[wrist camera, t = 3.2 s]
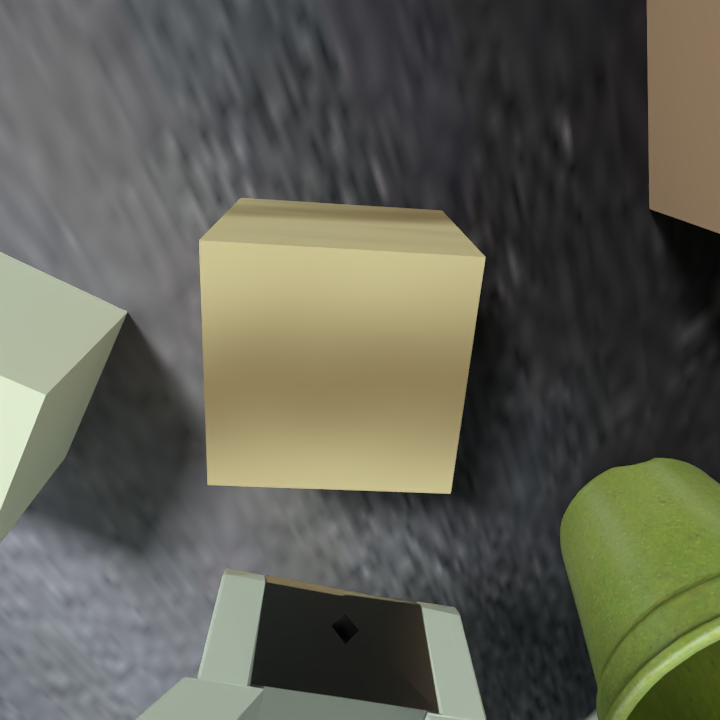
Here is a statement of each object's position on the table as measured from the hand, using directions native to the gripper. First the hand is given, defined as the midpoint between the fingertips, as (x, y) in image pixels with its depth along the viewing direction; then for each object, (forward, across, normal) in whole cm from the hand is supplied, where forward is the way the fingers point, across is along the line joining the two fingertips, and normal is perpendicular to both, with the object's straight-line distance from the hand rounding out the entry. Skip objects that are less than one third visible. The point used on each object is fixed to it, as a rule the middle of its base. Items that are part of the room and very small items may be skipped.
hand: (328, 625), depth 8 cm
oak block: (+13, 0, -1) cm, 13 cm away
